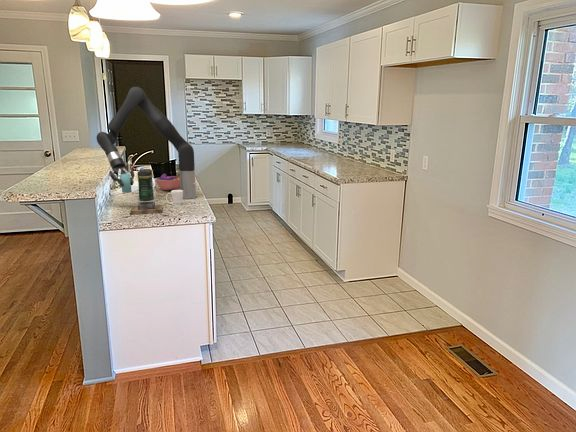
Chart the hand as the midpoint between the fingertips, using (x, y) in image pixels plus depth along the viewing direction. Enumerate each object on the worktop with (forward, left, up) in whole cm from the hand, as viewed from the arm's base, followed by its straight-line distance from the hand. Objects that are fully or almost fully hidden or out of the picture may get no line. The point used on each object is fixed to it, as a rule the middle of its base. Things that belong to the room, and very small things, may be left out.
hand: (127, 185), depth 243 cm
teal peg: (+1, -2, -4) cm, 5 cm away
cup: (-25, -3, -13) cm, 29 cm away
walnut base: (-10, +10, -13) cm, 19 cm away
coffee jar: (-8, -21, -13) cm, 27 cm away
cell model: (-22, -47, -13) cm, 54 cm away
